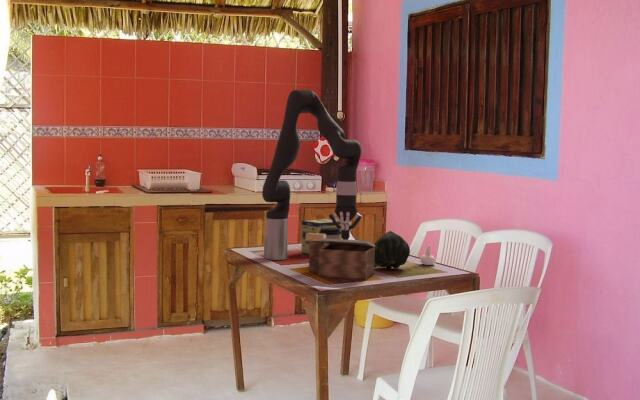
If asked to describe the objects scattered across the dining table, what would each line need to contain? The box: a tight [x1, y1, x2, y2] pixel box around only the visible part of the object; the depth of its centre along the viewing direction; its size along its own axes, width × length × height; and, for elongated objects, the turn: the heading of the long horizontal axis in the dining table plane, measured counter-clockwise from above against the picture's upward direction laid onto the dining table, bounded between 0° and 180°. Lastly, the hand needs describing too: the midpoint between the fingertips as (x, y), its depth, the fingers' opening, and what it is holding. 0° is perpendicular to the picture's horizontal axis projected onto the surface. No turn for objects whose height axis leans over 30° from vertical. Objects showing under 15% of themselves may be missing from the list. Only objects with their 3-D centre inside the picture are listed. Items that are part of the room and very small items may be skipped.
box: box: [308, 241, 375, 281], centre depth 268 cm, size 24×14×12 cm, turn 73°
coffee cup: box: [319, 228, 341, 246], centre depth 290 cm, size 9×9×15 cm
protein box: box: [301, 218, 343, 256], centre depth 314 cm, size 10×16×16 cm
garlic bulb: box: [419, 245, 436, 266], centre depth 297 cm, size 6×6×8 cm
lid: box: [320, 238, 375, 247], centre depth 266 cm, size 18×14×1 cm
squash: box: [373, 230, 411, 270], centre depth 282 cm, size 14×15×15 cm
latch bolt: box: [306, 233, 326, 241], centre depth 273 cm, size 7×4×2 cm, turn 73°
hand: (345, 239), depth 262 cm, fingers closed
